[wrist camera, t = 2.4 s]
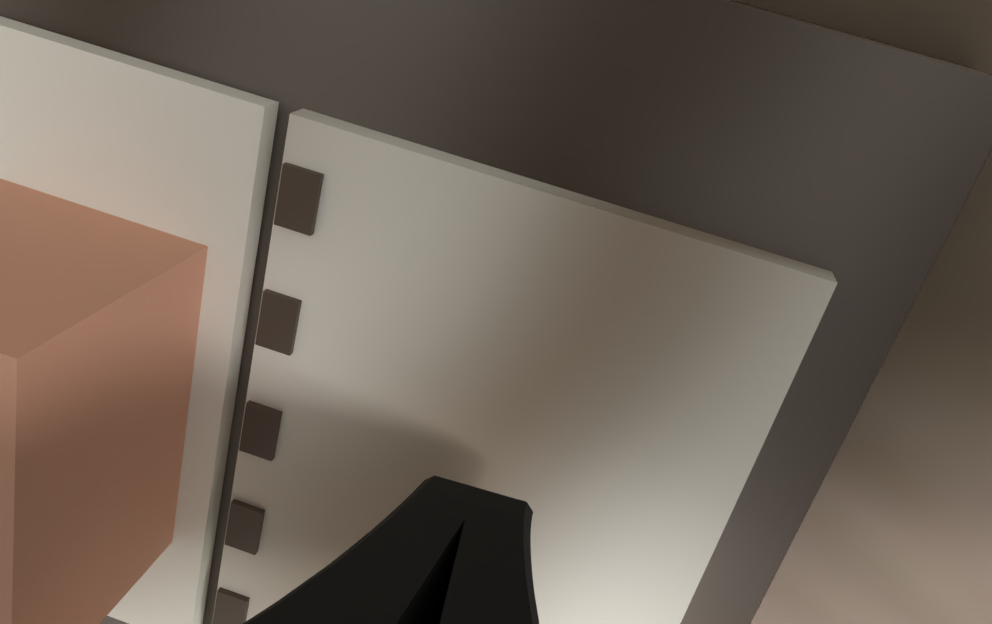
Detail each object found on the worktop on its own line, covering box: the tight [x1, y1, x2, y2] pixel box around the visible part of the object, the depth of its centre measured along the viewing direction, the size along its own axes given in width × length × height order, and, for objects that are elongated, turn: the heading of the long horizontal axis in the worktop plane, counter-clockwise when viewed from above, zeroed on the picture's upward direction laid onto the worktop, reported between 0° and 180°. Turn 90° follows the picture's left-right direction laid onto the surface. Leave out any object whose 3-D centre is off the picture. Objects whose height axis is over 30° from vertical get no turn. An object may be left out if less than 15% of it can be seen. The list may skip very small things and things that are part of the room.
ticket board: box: [0, 0, 992, 624], centre depth 13 cm, size 22×14×2 cm, turn 75°
